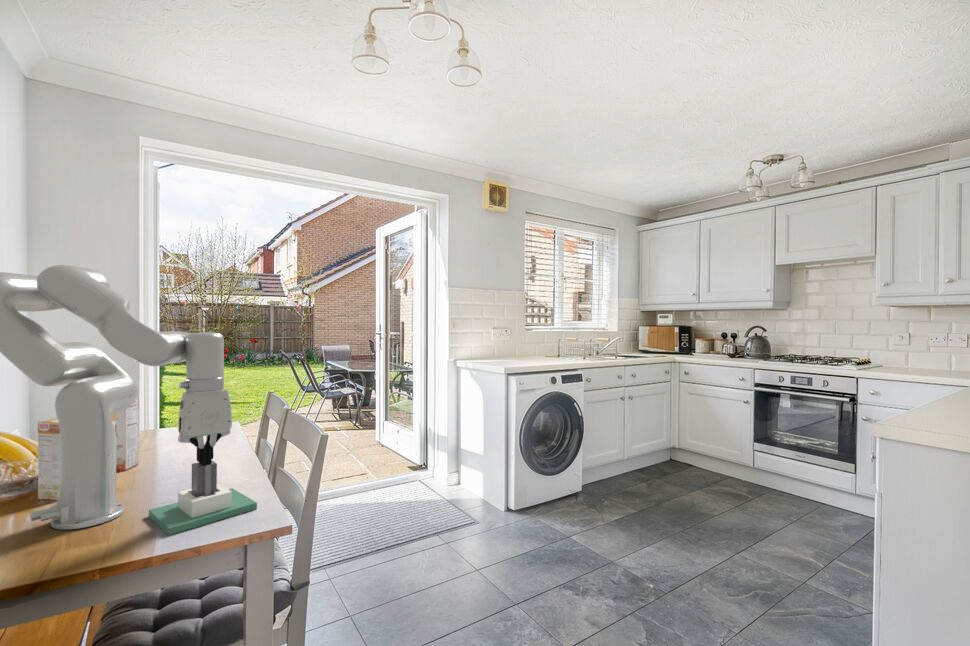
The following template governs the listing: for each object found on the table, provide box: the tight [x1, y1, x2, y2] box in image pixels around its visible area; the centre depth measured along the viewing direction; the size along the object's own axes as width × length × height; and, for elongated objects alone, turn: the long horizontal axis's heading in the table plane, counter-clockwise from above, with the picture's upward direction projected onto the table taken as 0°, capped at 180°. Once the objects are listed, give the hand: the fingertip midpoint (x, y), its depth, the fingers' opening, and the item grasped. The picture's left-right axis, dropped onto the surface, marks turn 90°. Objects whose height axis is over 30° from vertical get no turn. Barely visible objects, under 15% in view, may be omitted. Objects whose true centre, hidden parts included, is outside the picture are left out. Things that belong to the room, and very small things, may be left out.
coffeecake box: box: [37, 413, 115, 501], centre depth 121 cm, size 15×7×20 cm, turn 174°
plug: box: [191, 459, 218, 497], centre depth 107 cm, size 4×5×10 cm
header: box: [177, 482, 232, 518], centre depth 107 cm, size 8×9×4 cm
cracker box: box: [115, 397, 140, 472], centre depth 137 cm, size 14×6×21 cm, turn 92°
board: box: [148, 487, 258, 536], centre depth 108 cm, size 18×14×2 cm
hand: (205, 463), depth 108 cm, fingers closed
